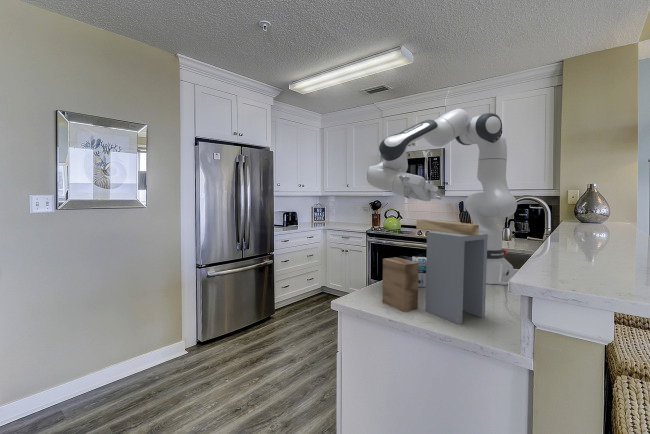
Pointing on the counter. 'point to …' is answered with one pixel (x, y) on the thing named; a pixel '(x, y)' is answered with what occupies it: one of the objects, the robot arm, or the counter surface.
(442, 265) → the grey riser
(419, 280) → the light bulb box
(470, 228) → the oak slat
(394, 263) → the walnut block
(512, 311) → the counter surface
